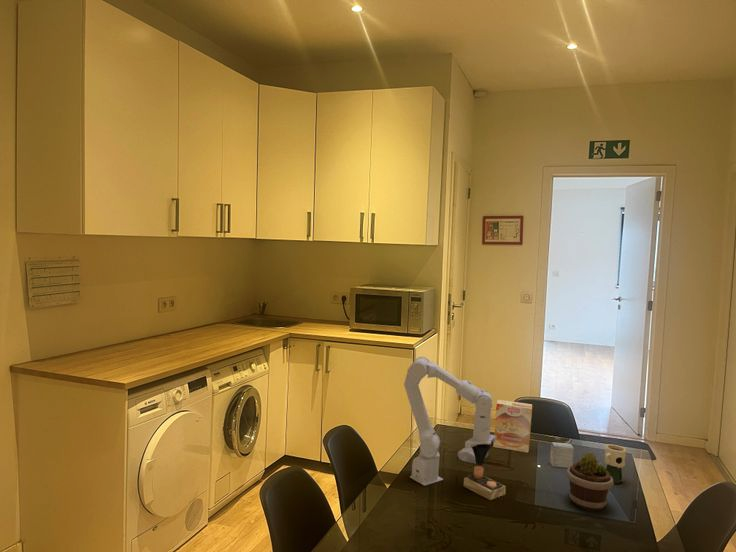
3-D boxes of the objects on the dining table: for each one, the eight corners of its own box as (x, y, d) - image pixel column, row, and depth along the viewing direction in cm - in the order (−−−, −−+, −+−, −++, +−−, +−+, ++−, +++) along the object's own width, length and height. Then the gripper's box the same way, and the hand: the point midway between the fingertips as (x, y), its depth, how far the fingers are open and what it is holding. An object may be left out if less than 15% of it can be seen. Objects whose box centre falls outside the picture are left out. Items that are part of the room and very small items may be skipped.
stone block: (455, 463, 213) (478, 465, 207) (454, 451, 213) (477, 453, 207) (468, 456, 222) (490, 458, 216) (467, 444, 223) (489, 446, 217)
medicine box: (569, 464, 214) (571, 443, 214) (572, 468, 210) (574, 447, 209) (549, 462, 215) (551, 441, 214) (552, 466, 210) (553, 445, 210)
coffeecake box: (492, 447, 228) (496, 403, 227) (493, 441, 235) (497, 398, 234) (528, 453, 224) (532, 408, 223) (528, 447, 231) (532, 403, 230)
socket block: (490, 500, 178) (490, 489, 178) (463, 486, 187) (464, 476, 187) (505, 494, 183) (505, 484, 183) (478, 481, 192) (479, 471, 192)
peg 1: (478, 480, 185) (479, 470, 185) (471, 476, 188) (472, 467, 187) (484, 478, 187) (485, 468, 187) (477, 474, 189) (478, 465, 189)
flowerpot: (571, 489, 190) (576, 435, 189) (616, 504, 181) (621, 447, 180) (557, 503, 179) (562, 445, 178) (604, 519, 169) (610, 459, 168)
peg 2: (491, 495, 180) (492, 485, 180) (484, 491, 183) (485, 482, 183) (497, 493, 182) (498, 483, 182) (490, 489, 185) (490, 480, 185)
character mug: (612, 487, 194) (615, 452, 194) (595, 479, 201) (598, 446, 200) (630, 482, 200) (633, 449, 199) (613, 475, 206) (616, 442, 205)
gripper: (477, 433, 179) (474, 472, 179) (504, 426, 188) (501, 464, 188) (461, 427, 184) (458, 465, 185) (488, 420, 193) (485, 457, 194)
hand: (479, 464), depth 187 cm, fingers closed
